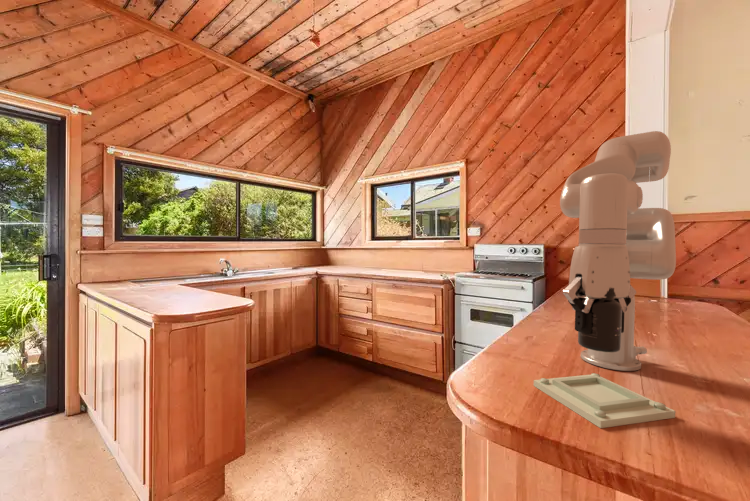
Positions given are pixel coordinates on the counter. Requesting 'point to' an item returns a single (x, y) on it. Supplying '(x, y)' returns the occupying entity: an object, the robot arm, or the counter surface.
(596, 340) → the supplement bottle
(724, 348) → the counter surface
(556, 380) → the seating plate
